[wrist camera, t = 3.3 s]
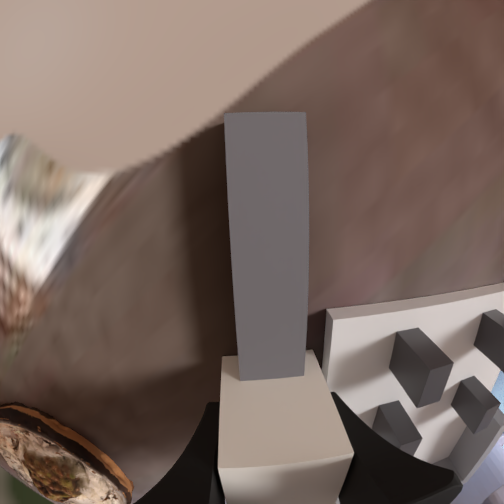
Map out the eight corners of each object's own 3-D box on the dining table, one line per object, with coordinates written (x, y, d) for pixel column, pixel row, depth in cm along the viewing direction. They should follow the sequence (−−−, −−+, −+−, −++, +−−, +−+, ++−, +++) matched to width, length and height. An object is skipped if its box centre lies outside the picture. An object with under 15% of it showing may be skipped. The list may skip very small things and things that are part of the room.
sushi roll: (-25, 345, 13) (-58, 377, 9) (172, 450, 15) (164, 504, 11) (-2, 448, 16) (-18, 475, 12) (134, 516, 18) (127, 548, 14)
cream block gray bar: (307, 410, 14) (334, 505, 8) (229, 417, 14) (230, 516, 8) (314, 121, 10) (392, 80, 5) (204, 123, 10) (171, 75, 4)
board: (448, 452, 17) (467, 482, 13) (303, 493, 17) (312, 535, 13) (516, 279, 13) (560, 303, 9) (326, 308, 12) (360, 363, 9)
